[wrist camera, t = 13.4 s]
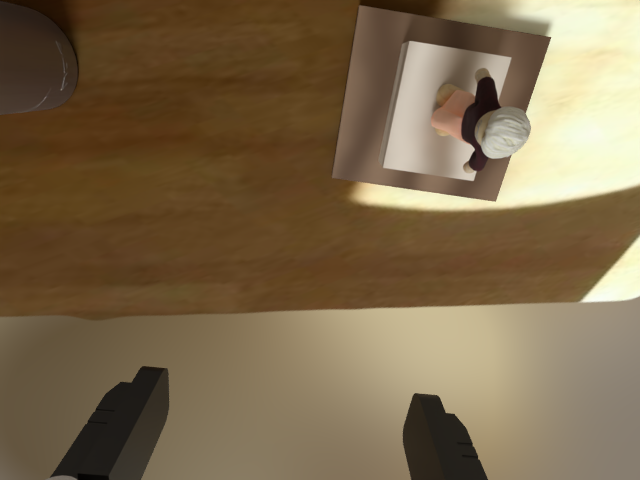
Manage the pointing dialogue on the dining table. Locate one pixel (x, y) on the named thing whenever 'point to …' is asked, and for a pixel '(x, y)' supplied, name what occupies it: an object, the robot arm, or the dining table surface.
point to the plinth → (380, 81)
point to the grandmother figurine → (480, 121)
